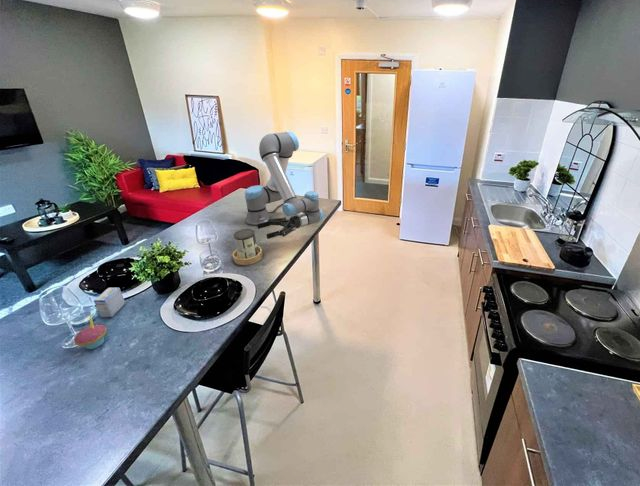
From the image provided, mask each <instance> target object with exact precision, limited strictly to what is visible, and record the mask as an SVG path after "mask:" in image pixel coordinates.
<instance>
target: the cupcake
mask: <svg viewBox="0 0 640 486" xmlns="http://www.w3.org/2000/svg"><path fill="white" fill-rule="evenodd" d="M88 319H89V323H90V324H89V325H88V326H86V327H84V328H83V329H81V330H79V332H77V333H76V335H75V336H74V338H73V343H74V345H76V346H79V347H84V348H86V349H87V350H94V349H97V348H99V347H101V346H102V345H103V344H104V342H105V336H106V335H107V332H108V329H107V326H106V325H105V324H102V323H97V324H96V323H95V324H94V321H93V316H92V315H91V314H90V315H89V318H88Z"/></svg>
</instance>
